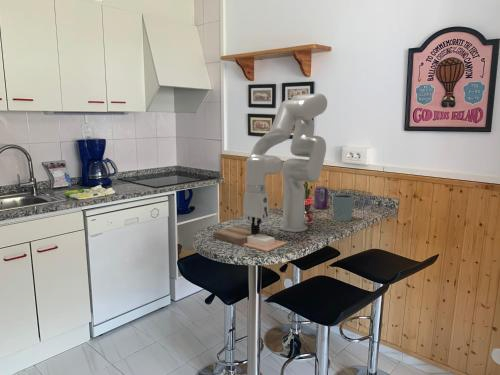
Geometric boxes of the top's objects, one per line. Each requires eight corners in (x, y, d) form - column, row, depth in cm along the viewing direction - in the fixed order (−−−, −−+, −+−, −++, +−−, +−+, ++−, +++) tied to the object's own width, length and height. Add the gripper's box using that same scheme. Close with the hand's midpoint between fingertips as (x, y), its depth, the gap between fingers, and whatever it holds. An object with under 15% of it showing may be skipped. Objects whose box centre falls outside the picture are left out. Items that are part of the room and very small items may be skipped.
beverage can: (329, 208, 219) (330, 187, 217) (322, 210, 214) (323, 188, 212) (319, 206, 223) (319, 185, 221) (311, 208, 218) (312, 187, 216)
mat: (263, 237, 163) (263, 236, 163) (287, 243, 155) (287, 242, 155) (243, 245, 153) (243, 244, 153) (267, 251, 145) (267, 250, 145)
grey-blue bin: (330, 220, 191) (331, 196, 189) (333, 216, 200) (334, 193, 198) (351, 222, 187) (353, 198, 185) (354, 218, 197) (355, 194, 195)
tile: (256, 239, 160) (256, 233, 159) (274, 243, 154) (274, 237, 153) (247, 242, 155) (247, 236, 155) (265, 247, 149) (265, 241, 149)
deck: (235, 230, 173) (235, 225, 172) (262, 237, 163) (262, 231, 163) (213, 238, 162) (213, 232, 162) (240, 245, 153) (240, 239, 152)
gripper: (276, 189, 151) (276, 235, 154) (247, 185, 161) (247, 228, 164) (264, 192, 145) (264, 239, 149) (235, 187, 155) (235, 232, 158)
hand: (255, 233), depth 156 cm, fingers closed
